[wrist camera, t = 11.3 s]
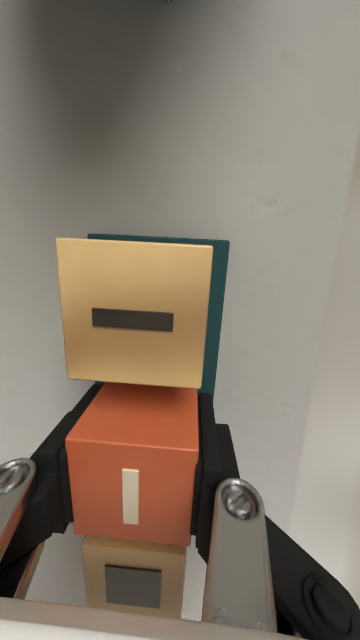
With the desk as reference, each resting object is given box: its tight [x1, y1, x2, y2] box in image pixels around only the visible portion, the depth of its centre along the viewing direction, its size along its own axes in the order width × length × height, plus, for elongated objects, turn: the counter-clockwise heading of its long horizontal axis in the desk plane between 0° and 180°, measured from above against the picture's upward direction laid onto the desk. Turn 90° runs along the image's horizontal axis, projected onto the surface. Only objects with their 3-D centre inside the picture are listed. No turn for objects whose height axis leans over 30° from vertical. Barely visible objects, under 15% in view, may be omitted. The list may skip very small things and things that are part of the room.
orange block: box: [65, 382, 199, 546], centre depth 9 cm, size 4×4×4 cm
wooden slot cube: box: [55, 238, 213, 389], centre depth 8 cm, size 4×4×4 cm
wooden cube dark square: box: [82, 535, 186, 619], centre depth 11 cm, size 4×4×4 cm
